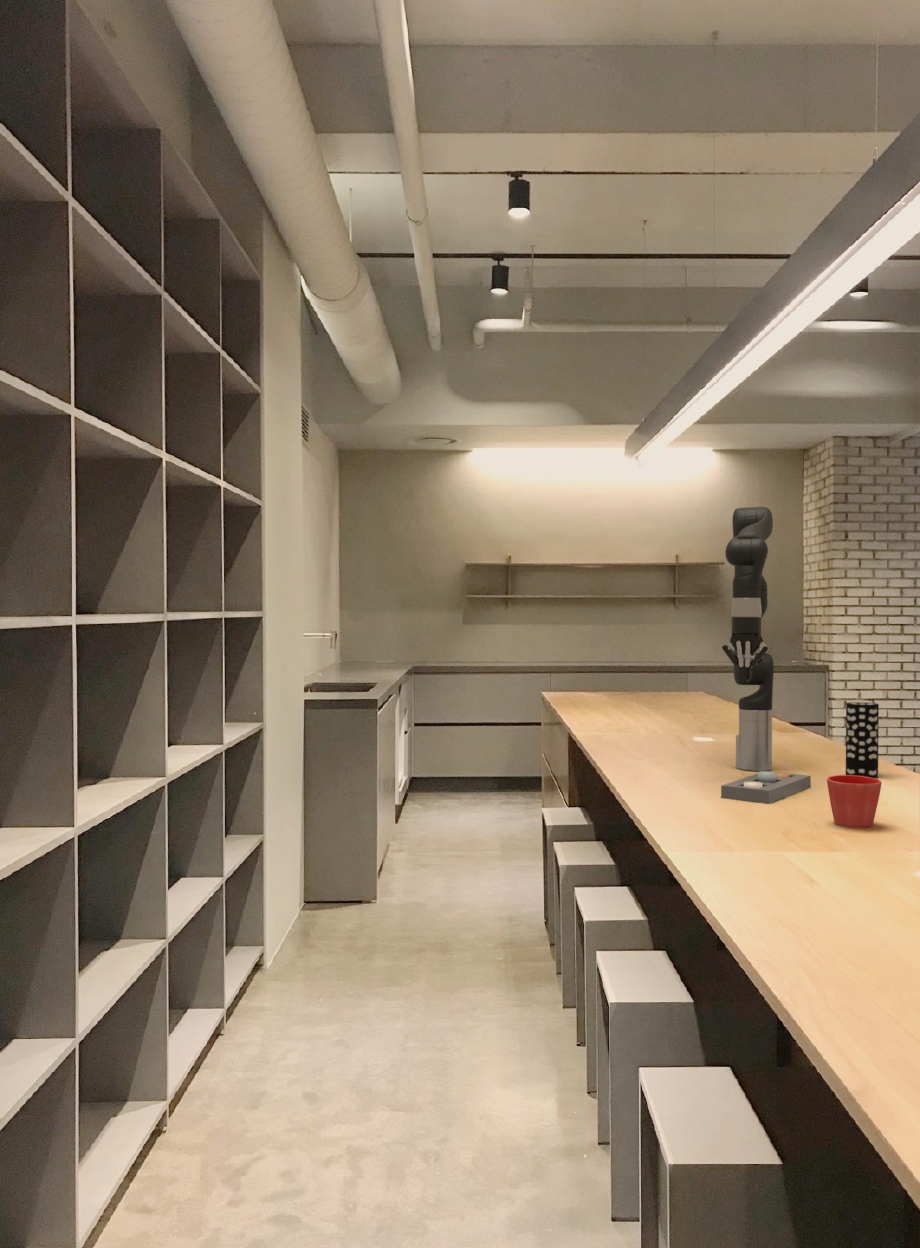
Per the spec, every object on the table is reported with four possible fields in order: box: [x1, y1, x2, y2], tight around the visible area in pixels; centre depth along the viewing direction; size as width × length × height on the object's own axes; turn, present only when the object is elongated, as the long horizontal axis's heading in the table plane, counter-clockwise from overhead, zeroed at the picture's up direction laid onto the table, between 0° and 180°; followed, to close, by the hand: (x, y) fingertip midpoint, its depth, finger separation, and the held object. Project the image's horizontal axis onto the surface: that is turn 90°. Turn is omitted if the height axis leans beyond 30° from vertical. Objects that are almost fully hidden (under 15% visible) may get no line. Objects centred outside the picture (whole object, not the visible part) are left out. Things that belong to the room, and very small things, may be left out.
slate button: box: [757, 770, 777, 783], centre depth 258 cm, size 4×4×3 cm
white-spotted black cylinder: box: [845, 701, 880, 779], centre depth 282 cm, size 8×8×20 cm
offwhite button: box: [744, 782, 762, 788], centre depth 250 cm, size 4×4×3 cm
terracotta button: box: [775, 771, 791, 778], centre depth 265 cm, size 4×4×3 cm
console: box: [720, 772, 812, 804], centre depth 258 cm, size 12×28×3 cm, turn 142°
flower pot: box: [826, 774, 883, 829], centre depth 220 cm, size 11×11×10 cm
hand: (746, 681), depth 269 cm, fingers closed
